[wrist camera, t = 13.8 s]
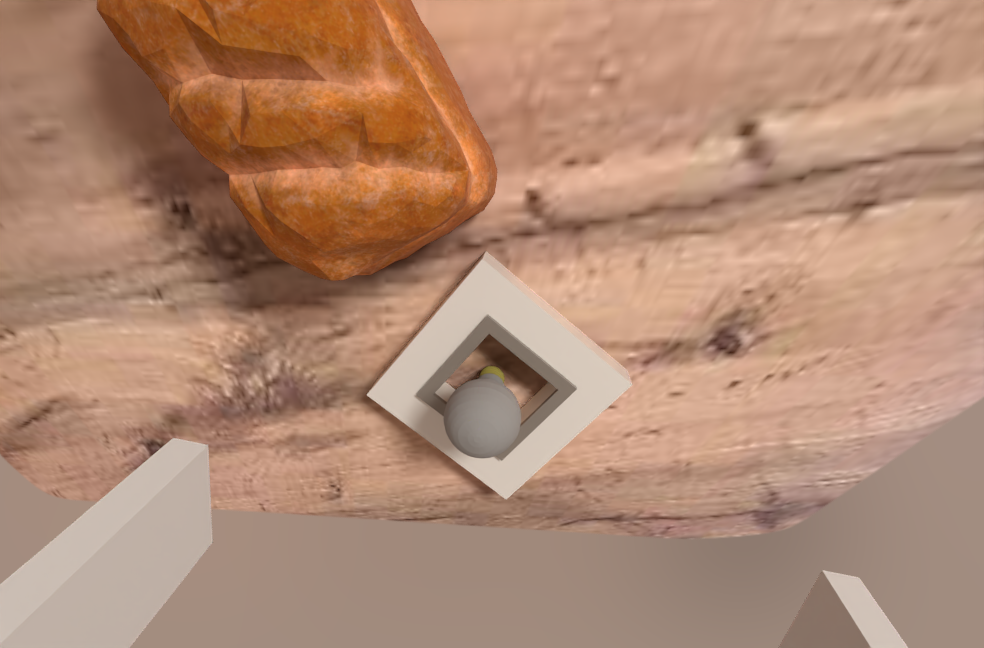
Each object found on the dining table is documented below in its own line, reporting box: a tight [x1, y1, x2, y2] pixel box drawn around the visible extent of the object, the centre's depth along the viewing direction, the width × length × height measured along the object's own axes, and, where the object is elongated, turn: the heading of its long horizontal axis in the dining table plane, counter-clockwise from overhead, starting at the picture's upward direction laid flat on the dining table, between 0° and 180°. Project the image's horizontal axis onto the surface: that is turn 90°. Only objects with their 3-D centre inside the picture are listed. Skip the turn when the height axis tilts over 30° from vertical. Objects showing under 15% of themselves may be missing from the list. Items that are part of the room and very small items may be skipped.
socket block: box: [367, 251, 632, 499], centre depth 41 cm, size 15×15×3 cm
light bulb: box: [443, 366, 521, 458], centre depth 38 cm, size 5×6×10 cm
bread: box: [97, 0, 497, 281], centre depth 28 cm, size 14×26×16 cm, turn 30°
